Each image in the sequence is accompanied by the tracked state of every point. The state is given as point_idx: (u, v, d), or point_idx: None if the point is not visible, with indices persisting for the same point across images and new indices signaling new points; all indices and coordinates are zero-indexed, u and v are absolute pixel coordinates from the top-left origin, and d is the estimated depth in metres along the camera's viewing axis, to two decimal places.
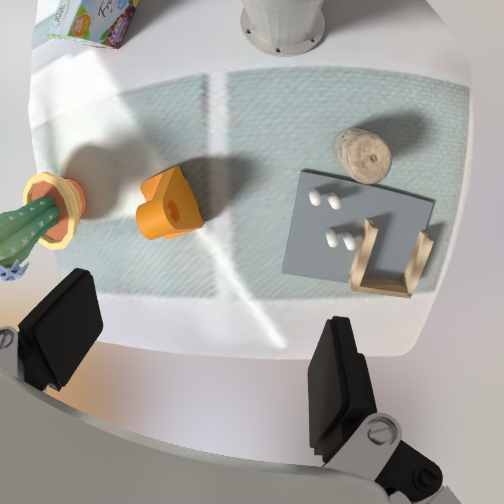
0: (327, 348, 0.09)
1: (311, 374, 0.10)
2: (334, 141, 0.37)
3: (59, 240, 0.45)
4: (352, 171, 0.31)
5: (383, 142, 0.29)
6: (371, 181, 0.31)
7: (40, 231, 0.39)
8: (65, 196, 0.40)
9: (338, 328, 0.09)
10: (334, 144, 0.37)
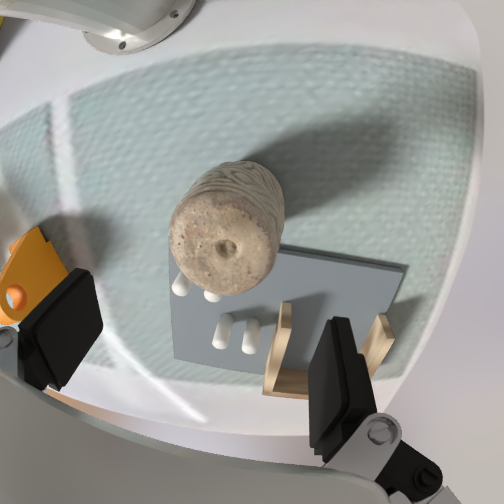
0: (327, 348, 0.09)
1: (311, 374, 0.10)
2: None
3: None
4: None
5: (245, 212, 0.14)
6: (227, 294, 0.16)
7: None
8: None
9: (338, 328, 0.09)
10: None
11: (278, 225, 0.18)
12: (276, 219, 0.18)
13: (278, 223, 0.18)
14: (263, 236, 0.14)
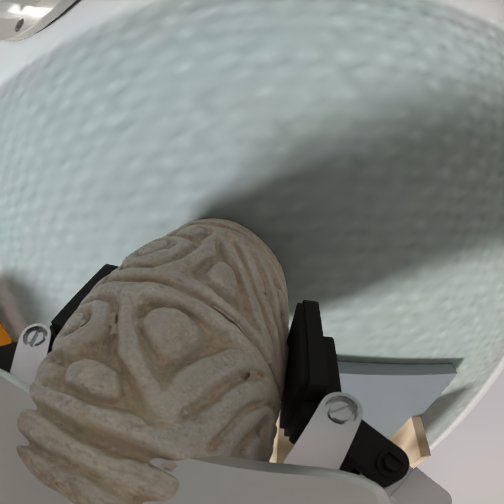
0: (295, 330, 0.09)
1: None
2: None
3: None
4: None
5: None
6: None
7: None
8: None
9: (306, 311, 0.09)
10: None
11: (271, 430, 0.06)
12: (267, 419, 0.06)
13: (271, 424, 0.06)
14: None
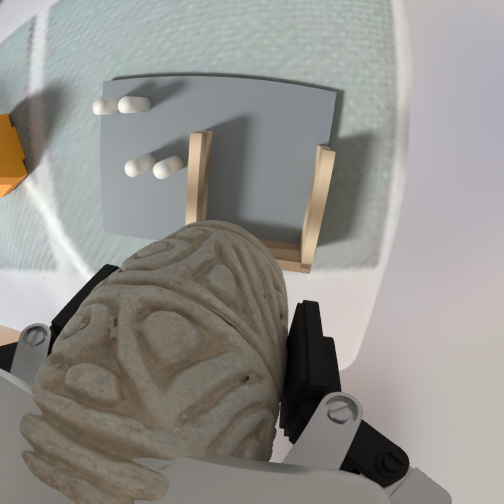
0: (295, 330, 0.09)
1: None
2: None
3: None
4: None
5: None
6: None
7: None
8: None
9: (306, 311, 0.09)
10: None
11: (270, 433, 0.06)
12: (266, 421, 0.06)
13: (270, 427, 0.06)
14: None
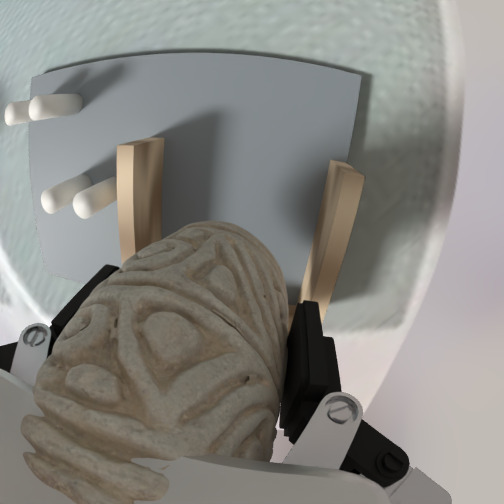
0: (295, 330, 0.09)
1: None
2: None
3: None
4: None
5: None
6: None
7: None
8: None
9: (306, 311, 0.09)
10: None
11: (270, 433, 0.06)
12: (266, 422, 0.06)
13: (271, 427, 0.06)
14: None
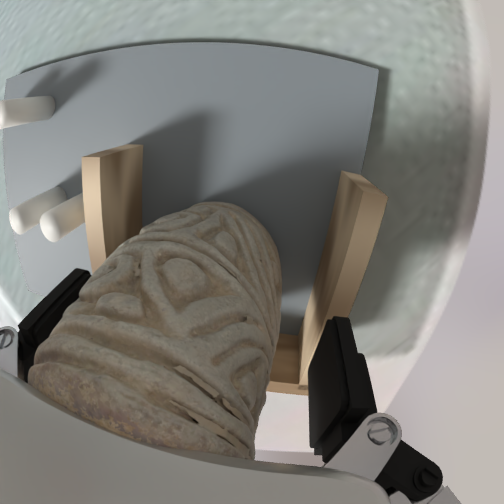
0: (327, 348, 0.09)
1: (311, 374, 0.10)
2: None
3: None
4: None
5: None
6: None
7: None
8: None
9: (338, 328, 0.09)
10: None
11: (264, 373, 0.08)
12: (260, 361, 0.08)
13: (264, 367, 0.08)
14: None
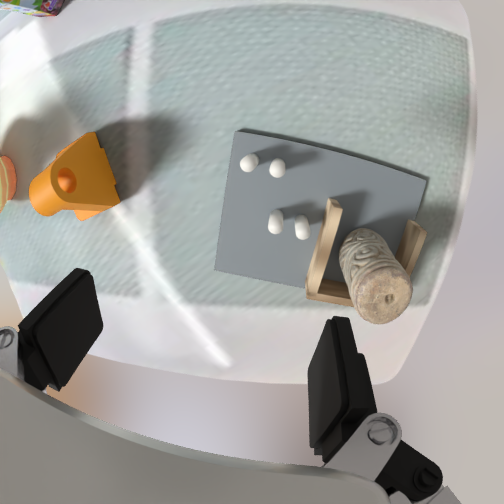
0: (327, 348, 0.09)
1: (311, 374, 0.10)
2: (342, 248, 0.31)
3: None
4: (359, 312, 0.25)
5: (406, 280, 0.23)
6: (380, 323, 0.25)
7: None
8: None
9: (338, 328, 0.09)
10: (342, 253, 0.31)
11: None
12: None
13: None
14: (410, 293, 0.23)
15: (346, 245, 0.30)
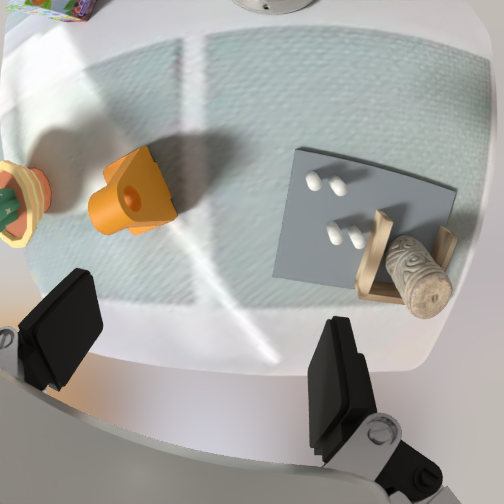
0: (327, 348, 0.09)
1: (311, 374, 0.10)
2: (390, 254, 0.34)
3: (20, 237, 0.35)
4: (412, 310, 0.28)
5: (448, 283, 0.25)
6: (427, 318, 0.28)
7: None
8: (23, 186, 0.31)
9: (338, 328, 0.09)
10: (390, 259, 0.33)
11: None
12: None
13: None
14: (450, 292, 0.26)
15: (394, 252, 0.33)
